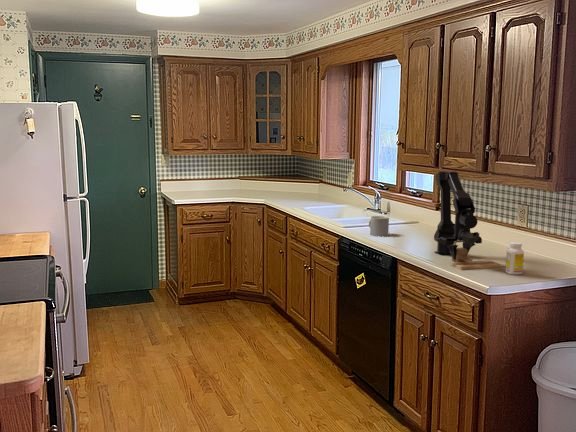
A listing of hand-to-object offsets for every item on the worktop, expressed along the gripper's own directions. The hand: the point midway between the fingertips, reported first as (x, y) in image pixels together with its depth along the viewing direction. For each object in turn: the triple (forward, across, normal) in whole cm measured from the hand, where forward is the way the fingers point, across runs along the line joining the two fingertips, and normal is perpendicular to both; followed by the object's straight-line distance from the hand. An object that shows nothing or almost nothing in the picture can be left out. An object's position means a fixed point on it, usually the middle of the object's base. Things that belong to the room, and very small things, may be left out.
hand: (459, 259), depth 264 cm
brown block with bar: (+1, 0, -3) cm, 3 cm away
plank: (+2, +4, -6) cm, 8 cm away
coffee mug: (+2, -3, +73) cm, 73 cm away
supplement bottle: (+2, +12, -22) cm, 25 cm away
